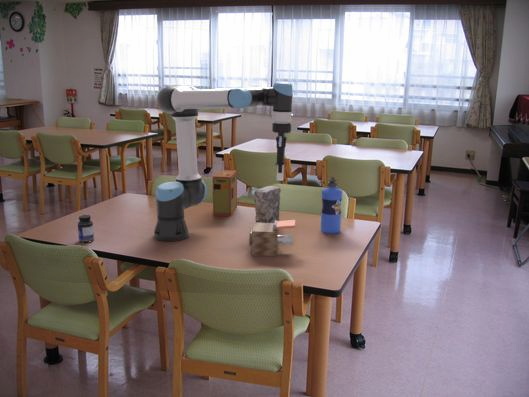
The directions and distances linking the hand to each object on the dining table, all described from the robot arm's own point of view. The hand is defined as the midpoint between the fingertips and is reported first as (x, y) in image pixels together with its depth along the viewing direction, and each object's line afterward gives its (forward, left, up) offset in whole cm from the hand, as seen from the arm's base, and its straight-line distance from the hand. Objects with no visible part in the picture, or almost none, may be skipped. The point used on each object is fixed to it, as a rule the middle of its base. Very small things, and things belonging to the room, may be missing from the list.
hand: (279, 180), depth 219 cm
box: (-31, +50, -28) cm, 65 cm away
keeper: (+3, -7, -17) cm, 19 cm away
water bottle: (+22, +23, -28) cm, 43 cm away
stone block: (-7, +20, -28) cm, 36 cm away
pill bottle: (-82, -4, -28) cm, 87 cm away
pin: (-3, -7, -26) cm, 27 cm away
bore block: (-5, -7, -28) cm, 29 cm away
